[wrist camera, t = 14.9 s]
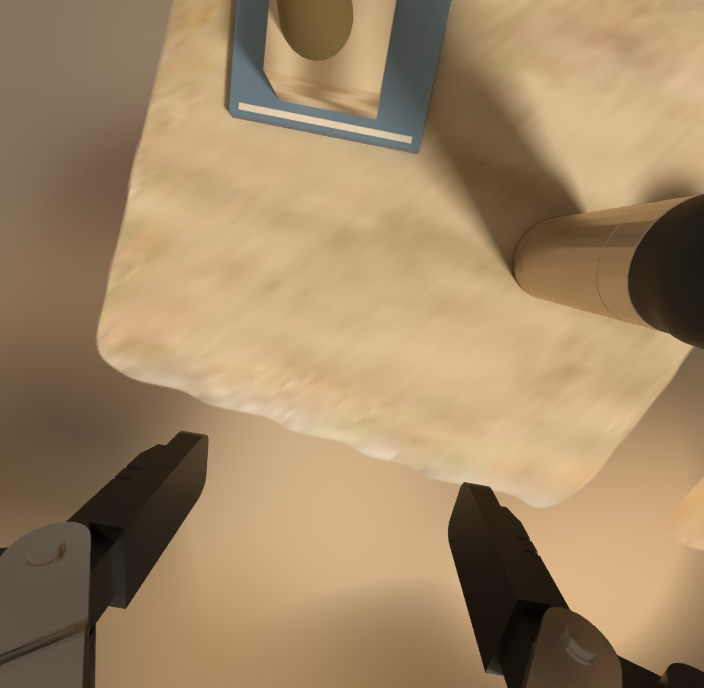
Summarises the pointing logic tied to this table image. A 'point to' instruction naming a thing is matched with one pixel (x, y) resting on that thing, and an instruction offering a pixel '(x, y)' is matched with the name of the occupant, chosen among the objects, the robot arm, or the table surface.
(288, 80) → the maple pedestal
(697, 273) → the robot arm
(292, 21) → the cork
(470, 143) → the table surface
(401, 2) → the board
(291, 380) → the table surface
